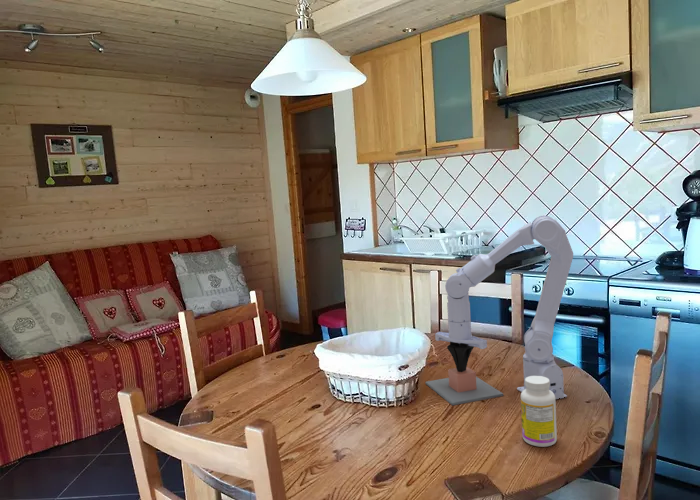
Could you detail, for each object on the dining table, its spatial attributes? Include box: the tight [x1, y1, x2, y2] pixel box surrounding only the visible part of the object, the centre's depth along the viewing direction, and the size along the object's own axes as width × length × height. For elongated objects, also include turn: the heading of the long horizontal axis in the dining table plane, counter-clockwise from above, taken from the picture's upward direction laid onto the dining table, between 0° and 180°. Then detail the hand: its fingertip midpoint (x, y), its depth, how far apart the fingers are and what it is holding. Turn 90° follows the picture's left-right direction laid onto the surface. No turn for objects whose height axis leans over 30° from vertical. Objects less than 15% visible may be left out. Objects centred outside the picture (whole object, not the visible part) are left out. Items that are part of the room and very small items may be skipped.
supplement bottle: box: [520, 376, 558, 448], centre depth 105 cm, size 7×7×13 cm
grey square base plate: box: [425, 376, 504, 406], centre depth 135 cm, size 16×14×4 cm
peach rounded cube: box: [447, 366, 477, 392], centre depth 134 cm, size 5×5×4 cm
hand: (461, 371), depth 134 cm, fingers closed, pressing on peach rounded cube
